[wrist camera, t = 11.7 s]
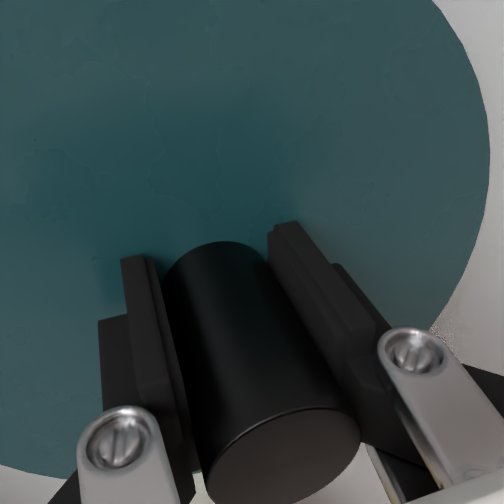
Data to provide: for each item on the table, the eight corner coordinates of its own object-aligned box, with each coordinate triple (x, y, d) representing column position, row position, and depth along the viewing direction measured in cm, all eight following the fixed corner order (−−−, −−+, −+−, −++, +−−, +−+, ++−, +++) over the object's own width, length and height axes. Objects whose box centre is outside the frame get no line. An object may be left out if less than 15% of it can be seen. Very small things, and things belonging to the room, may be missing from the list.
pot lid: (435, -259, 8) (955, -533, 3) (475, 316, 18) (624, 458, 13) (-424, 138, 8) (-1275, 493, 3) (97, 510, 17) (106, 734, 12)
